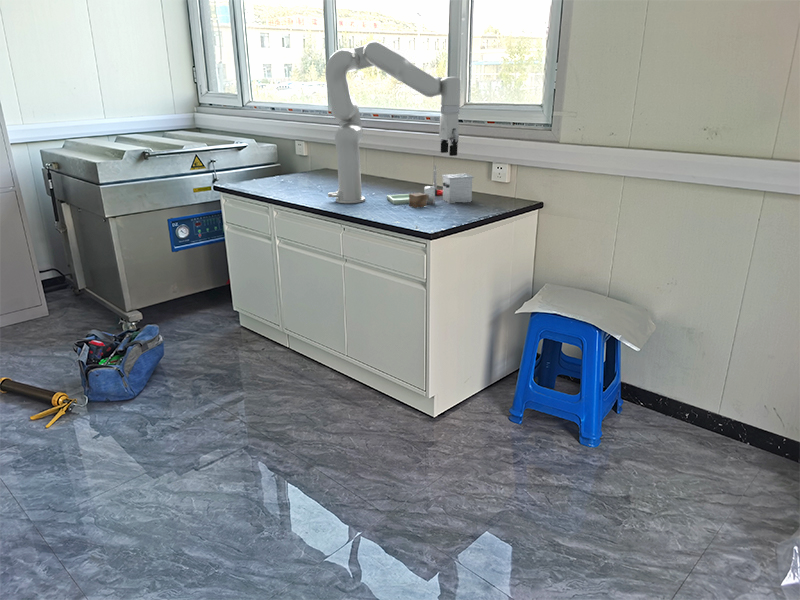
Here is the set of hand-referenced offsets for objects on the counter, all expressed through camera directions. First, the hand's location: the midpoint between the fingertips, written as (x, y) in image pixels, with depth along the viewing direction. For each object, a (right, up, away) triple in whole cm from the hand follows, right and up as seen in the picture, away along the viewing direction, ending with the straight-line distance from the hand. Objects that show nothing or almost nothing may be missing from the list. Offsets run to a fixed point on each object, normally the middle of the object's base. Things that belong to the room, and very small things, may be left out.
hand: (448, 154), depth 237 cm
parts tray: (-19, -18, +10) cm, 28 cm away
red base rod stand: (-4, -12, +26) cm, 29 cm away
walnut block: (-13, -21, +1) cm, 25 cm away
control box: (+4, -18, +9) cm, 20 cm away
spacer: (-8, -20, +4) cm, 22 cm away
